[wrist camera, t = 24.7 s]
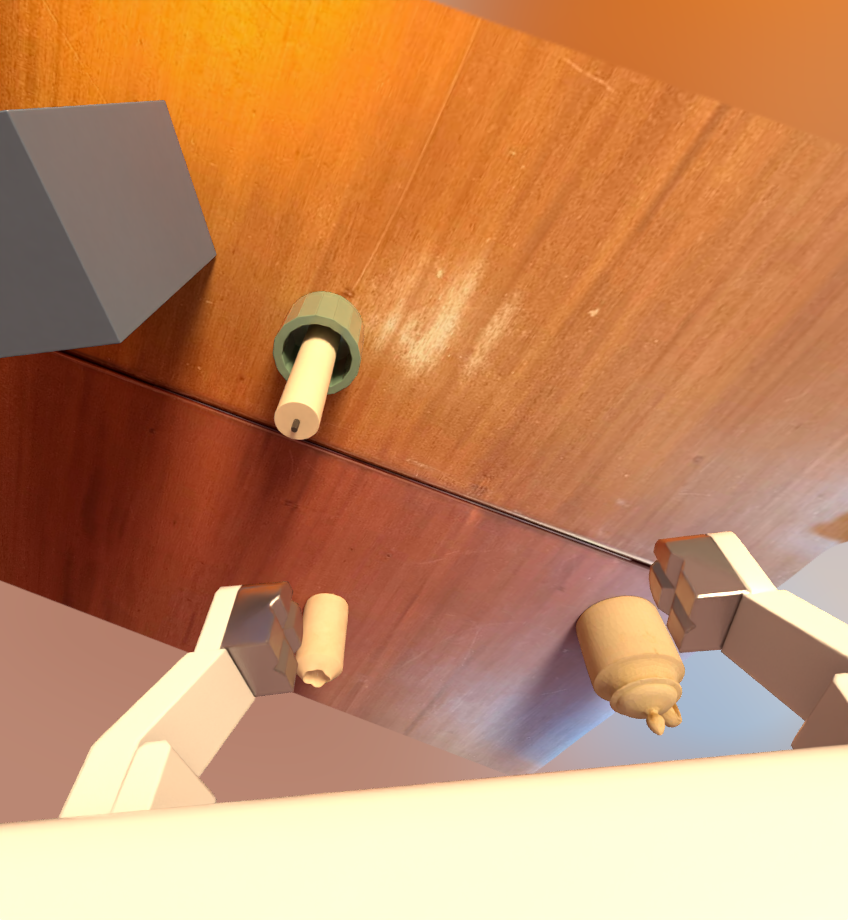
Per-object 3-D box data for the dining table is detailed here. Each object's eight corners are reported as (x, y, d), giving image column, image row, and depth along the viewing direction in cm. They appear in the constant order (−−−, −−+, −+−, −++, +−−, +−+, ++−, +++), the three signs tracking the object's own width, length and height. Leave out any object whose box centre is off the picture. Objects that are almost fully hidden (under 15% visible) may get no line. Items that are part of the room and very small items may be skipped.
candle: (348, 593, 64) (340, 666, 56) (349, 620, 67) (341, 693, 59) (303, 592, 64) (289, 665, 56) (306, 620, 67) (293, 693, 59)
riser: (20, 120, 35) (-230, 143, 21) (165, 100, 34) (6, 109, 21) (92, 271, 41) (-66, 366, 27) (217, 255, 40) (121, 343, 27)
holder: (276, 296, 42) (262, 321, 38) (356, 286, 42) (351, 310, 38) (297, 369, 46) (286, 399, 42) (370, 360, 46) (367, 390, 41)
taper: (301, 325, 43) (261, 419, 31) (331, 312, 42) (303, 403, 30) (317, 354, 45) (285, 454, 32) (346, 342, 44) (325, 440, 32)
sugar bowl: (697, 613, 69) (760, 726, 57) (645, 658, 75) (692, 770, 63) (606, 586, 65) (654, 701, 53) (558, 635, 71) (591, 749, 59)
